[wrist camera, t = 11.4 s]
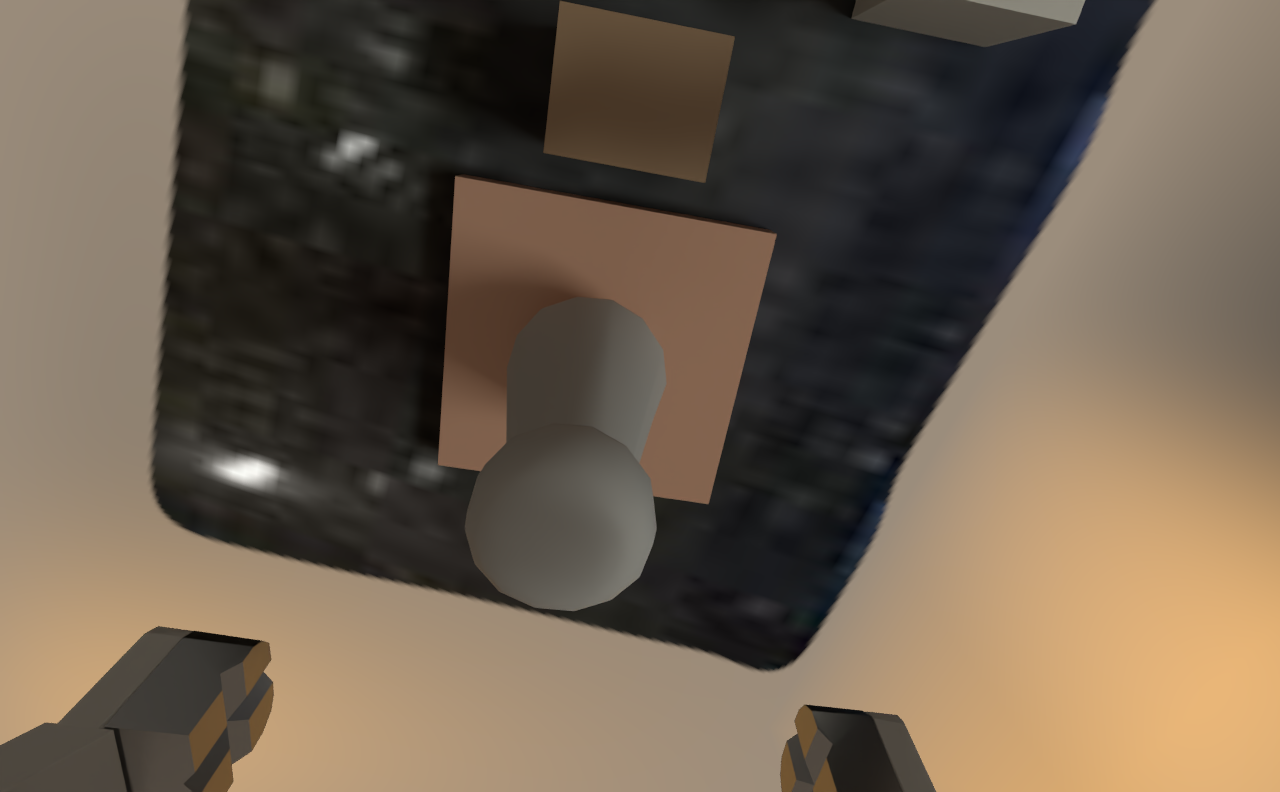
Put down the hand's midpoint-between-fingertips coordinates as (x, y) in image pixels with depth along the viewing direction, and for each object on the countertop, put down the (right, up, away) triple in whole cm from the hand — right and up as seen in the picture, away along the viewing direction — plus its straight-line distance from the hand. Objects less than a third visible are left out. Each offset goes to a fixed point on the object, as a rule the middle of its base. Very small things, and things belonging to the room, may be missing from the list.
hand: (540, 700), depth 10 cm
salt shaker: (0, +6, +16) cm, 17 cm away
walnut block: (+1, +15, +13) cm, 20 cm away
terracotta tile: (0, +7, +17) cm, 18 cm away
